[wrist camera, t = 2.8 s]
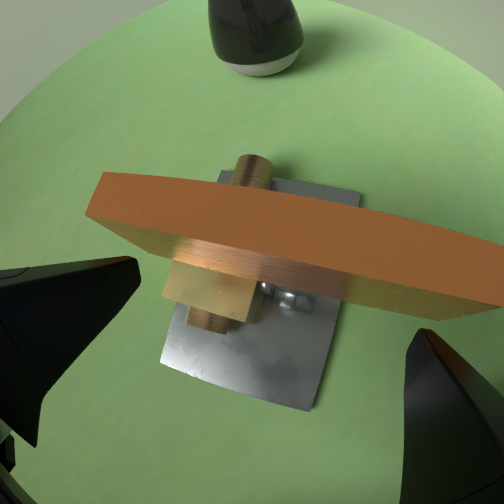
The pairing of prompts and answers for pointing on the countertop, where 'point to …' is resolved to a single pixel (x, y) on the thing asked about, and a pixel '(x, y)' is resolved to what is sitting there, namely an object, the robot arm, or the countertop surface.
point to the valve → (251, 316)
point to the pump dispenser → (255, 34)
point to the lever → (304, 245)
